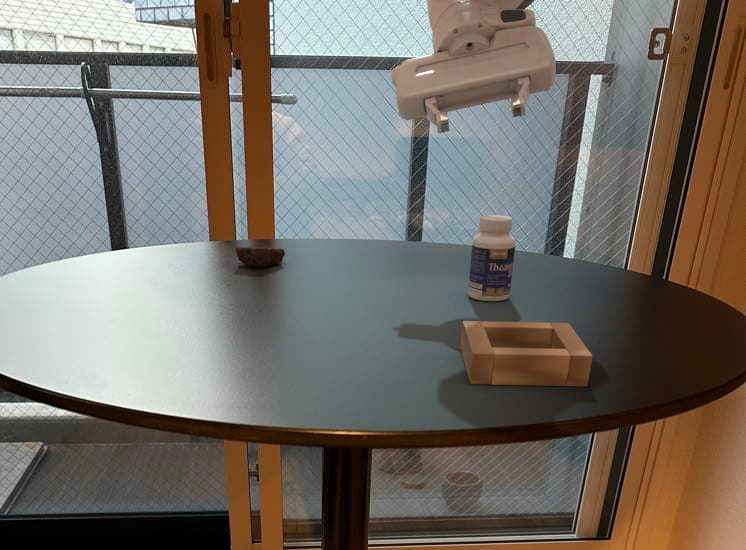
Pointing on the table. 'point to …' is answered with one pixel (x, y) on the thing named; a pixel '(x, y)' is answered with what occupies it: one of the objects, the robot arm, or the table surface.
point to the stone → (260, 256)
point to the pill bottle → (492, 259)
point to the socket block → (524, 354)
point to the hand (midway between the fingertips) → (480, 120)
